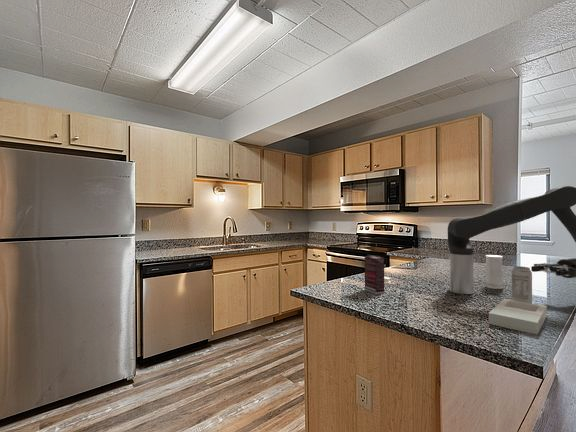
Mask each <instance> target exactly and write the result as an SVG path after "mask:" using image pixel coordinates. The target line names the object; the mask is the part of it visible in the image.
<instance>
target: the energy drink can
mask: <svg viewBox="0 0 576 432" xmlns="http://www.w3.org/2000/svg"><path fill="white" fill-rule="evenodd" d="M511 300H513V301H519V302H525V303H531V304H533V273H532V270H531V267H527V266H522V265H521V266H519V265H518V266H513V268H512V270H511Z"/></svg>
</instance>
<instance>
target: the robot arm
mask: <svg viewBox="0 0 576 432" xmlns="http://www.w3.org/2000/svg"><path fill="white" fill-rule="evenodd" d="M573 206H576V187H574V186H572V185H571V186H570V185H562V186H558V187H554V188H551V189H548V190H547V191H546V192H545V193H544V194H541V195H539V196H533V197H528V198H527V197H526V198H523V199H517V200H514V201H510V202H507V203H504V204H500V205H499V206H497V207H494V208H492V209H491V210H489V211H487V212H485V213H483V214H480V215H476V216H471V217H464V218H461V217H457V218H456V217H455V218H453V219H451V220H450V222H449V223H448V224H447V245H448V249H449V270H448V271H449V272H448V273H449V275H448V277H449V281H448V283H449V285H448V286H449V287H448V289H449V291H450V293H454V294H458V295H459V294H461V295H472V294H474V290H475V289H474V282H475V281H474V247H473V246H472V245H471V242H470V239H472V238H474V237H475V236H478V235H480V234H484V233H486V232H488V231H491V230H492V231H493V230H495V229H499V228H504V227H508V226H512V225H515V224H518V223H521V222H525V221H527V220H530V219H533V218H535V217H538V216H539V215H542V214H544V213H548V212H552V213H553V214H554V216H555V217H556V218H557V219H558V220H559V221H560V223H561V224H562V225H563V227H565V229H566V230H567V232H568V233H569V234H570V236H571V237H572V239H573V241H574V242H575V243H576V213H574V211H573V210H572V207H573ZM548 269H549V270H548ZM530 271H531V272H534V273H536V272H537V273H538V272H544V273H547V274H555V276H557V277H563V278H565V279H575V278H576V257H574V258H564V259H559V260H558V261H557V262H555V263H546V262H543V263H533V265H532V266H531V267H530Z"/></svg>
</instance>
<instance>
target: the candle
mask: <svg viewBox="0 0 576 432" xmlns="http://www.w3.org/2000/svg"><path fill="white" fill-rule="evenodd" d="M485 258H486V259H485V260H486V261H485V262H486V263H485V264H486V265H485V268H484V269H485V275H484V276H485V283H486V284H487V285H486V288H488V289H494V290H501V289H502V285H504V283H503V281H504V280H503V278H504V268H503V258H504V256H503V255H495V254H494V255H493V254H486V255H485Z"/></svg>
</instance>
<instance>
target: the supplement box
mask: <svg viewBox="0 0 576 432" xmlns="http://www.w3.org/2000/svg"><path fill="white" fill-rule="evenodd" d="M364 290H365V291H367V292H369V293H373V294H375V295H380V294H381V295H382V294H385V257H380V256H375V255H365V256H364Z"/></svg>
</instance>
